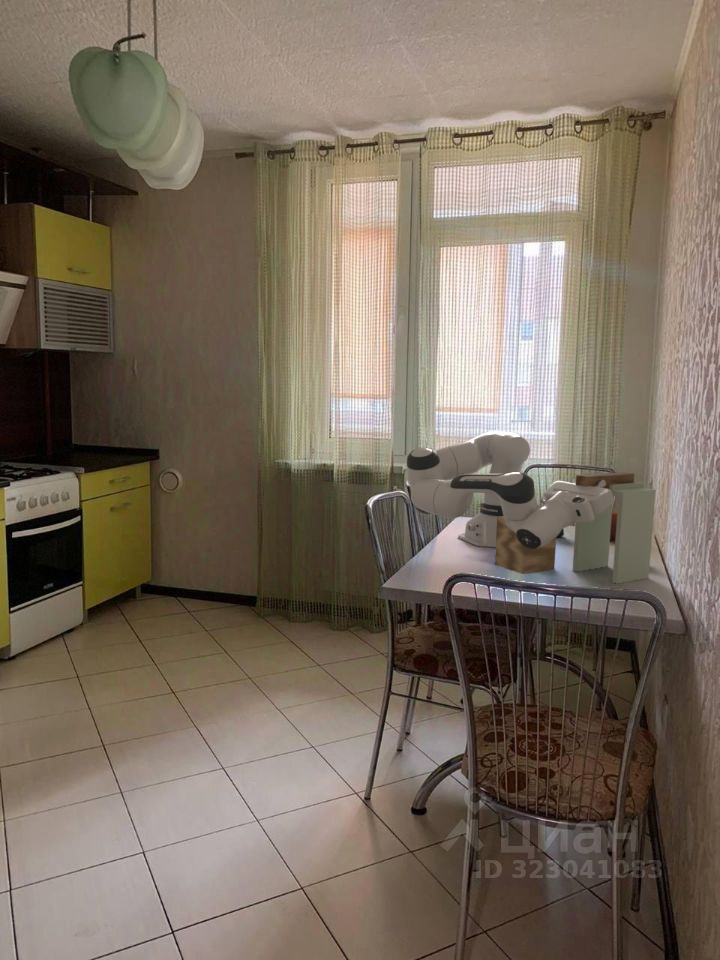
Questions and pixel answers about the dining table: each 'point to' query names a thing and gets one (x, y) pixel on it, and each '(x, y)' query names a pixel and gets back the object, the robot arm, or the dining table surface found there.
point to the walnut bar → (608, 477)
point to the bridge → (619, 535)
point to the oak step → (521, 552)
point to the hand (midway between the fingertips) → (595, 480)
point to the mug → (613, 525)
